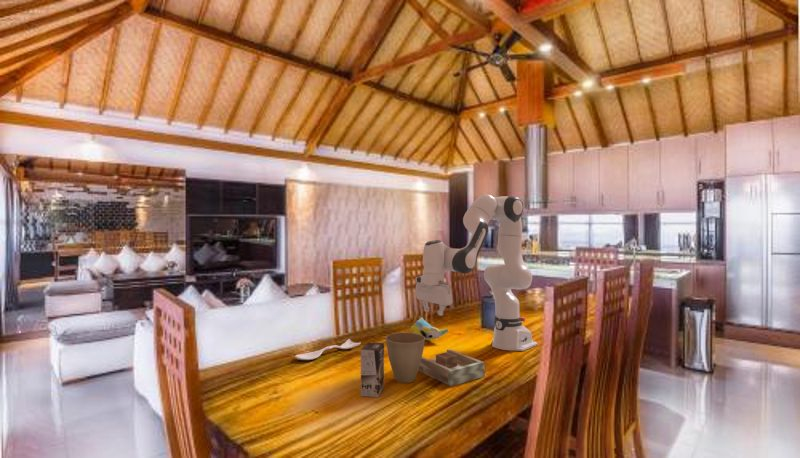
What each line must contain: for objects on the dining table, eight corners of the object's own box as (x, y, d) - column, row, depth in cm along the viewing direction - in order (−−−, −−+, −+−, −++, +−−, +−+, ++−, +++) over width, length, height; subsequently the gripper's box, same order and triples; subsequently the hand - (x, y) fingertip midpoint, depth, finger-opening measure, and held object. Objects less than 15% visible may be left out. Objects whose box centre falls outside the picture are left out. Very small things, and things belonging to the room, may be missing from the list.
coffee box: (378, 397, 140) (378, 350, 140) (360, 396, 142) (359, 349, 141) (385, 387, 149) (384, 342, 149) (367, 386, 150) (367, 341, 150)
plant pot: (397, 390, 147) (396, 345, 147) (379, 376, 160) (379, 335, 160) (432, 382, 154) (432, 339, 153) (413, 370, 167) (412, 330, 167)
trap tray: (447, 361, 177) (447, 348, 177) (484, 376, 159) (484, 362, 159) (415, 369, 168) (415, 355, 168) (450, 386, 150) (450, 371, 150)
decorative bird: (422, 346, 199) (422, 327, 199) (399, 331, 227) (399, 314, 227) (448, 343, 204) (448, 324, 204) (422, 329, 232) (422, 312, 232)
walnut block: (447, 361, 169) (447, 352, 169) (457, 366, 164) (457, 355, 164) (435, 364, 165) (435, 354, 165) (445, 369, 160) (445, 358, 160)
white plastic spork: (361, 348, 197) (361, 341, 197) (302, 365, 174) (302, 356, 174) (349, 345, 203) (349, 338, 203) (291, 360, 181) (291, 352, 181)
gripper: (456, 282, 164) (456, 316, 164) (424, 276, 181) (424, 308, 181) (443, 283, 161) (443, 318, 161) (413, 277, 178) (413, 310, 178)
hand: (433, 313), depth 171 cm, fingers open, 8 cm apart
